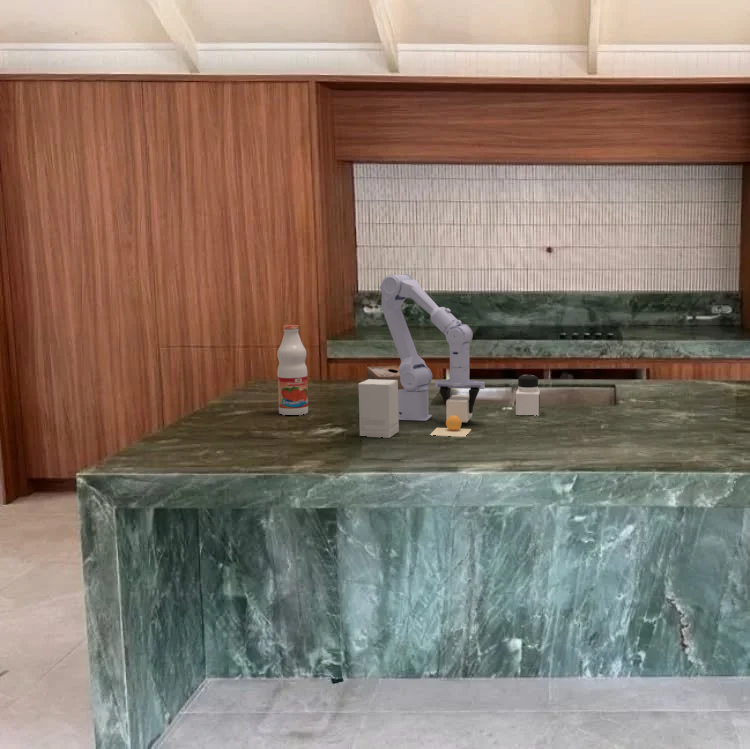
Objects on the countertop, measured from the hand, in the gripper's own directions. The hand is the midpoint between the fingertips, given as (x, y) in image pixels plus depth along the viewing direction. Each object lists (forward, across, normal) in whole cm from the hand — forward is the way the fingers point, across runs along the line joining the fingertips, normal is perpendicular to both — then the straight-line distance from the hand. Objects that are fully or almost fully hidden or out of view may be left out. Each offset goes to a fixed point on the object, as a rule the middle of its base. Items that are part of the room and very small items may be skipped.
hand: (459, 412), depth 250 cm
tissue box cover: (+4, -30, +37) cm, 48 cm away
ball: (+1, 0, -11) cm, 11 cm away
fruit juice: (+3, -54, +4) cm, 54 cm away
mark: (+3, 0, -14) cm, 14 cm away
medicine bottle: (+3, +18, +18) cm, 26 cm away
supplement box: (+3, -19, -20) cm, 28 cm away
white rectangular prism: (+2, 0, 0) cm, 2 cm away
